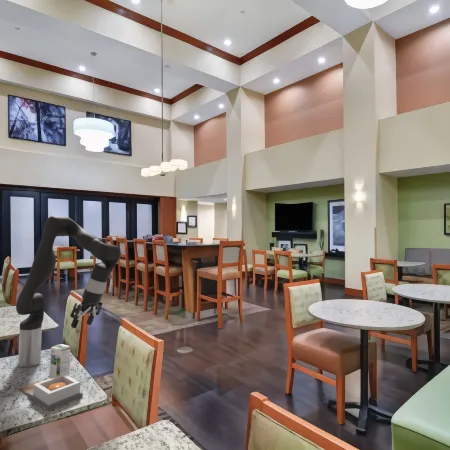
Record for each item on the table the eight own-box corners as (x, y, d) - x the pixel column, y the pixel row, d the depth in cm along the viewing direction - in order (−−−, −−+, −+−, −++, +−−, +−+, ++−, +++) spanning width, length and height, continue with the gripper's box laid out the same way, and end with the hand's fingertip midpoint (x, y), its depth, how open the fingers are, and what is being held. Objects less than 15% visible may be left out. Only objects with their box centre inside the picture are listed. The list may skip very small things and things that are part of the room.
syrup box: (48, 381, 140) (50, 347, 140) (61, 376, 145) (62, 343, 146) (57, 384, 137) (58, 349, 138) (69, 379, 143) (71, 345, 143)
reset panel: (27, 396, 127) (28, 382, 127) (61, 384, 137) (61, 371, 137) (48, 410, 117) (48, 395, 117) (82, 396, 128) (82, 382, 128)
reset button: (45, 392, 126) (45, 386, 126) (60, 387, 131) (60, 380, 131) (52, 397, 122) (53, 391, 122) (68, 391, 127) (68, 385, 127)
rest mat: (18, 389, 133) (18, 387, 133) (39, 382, 139) (39, 380, 139) (27, 395, 128) (27, 393, 128) (48, 387, 134) (48, 386, 134)
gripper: (99, 285, 146) (86, 319, 146) (75, 286, 133) (61, 324, 132) (112, 292, 143) (99, 327, 143) (89, 294, 130) (74, 332, 130)
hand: (81, 325), depth 138 cm, fingers open, 8 cm apart
